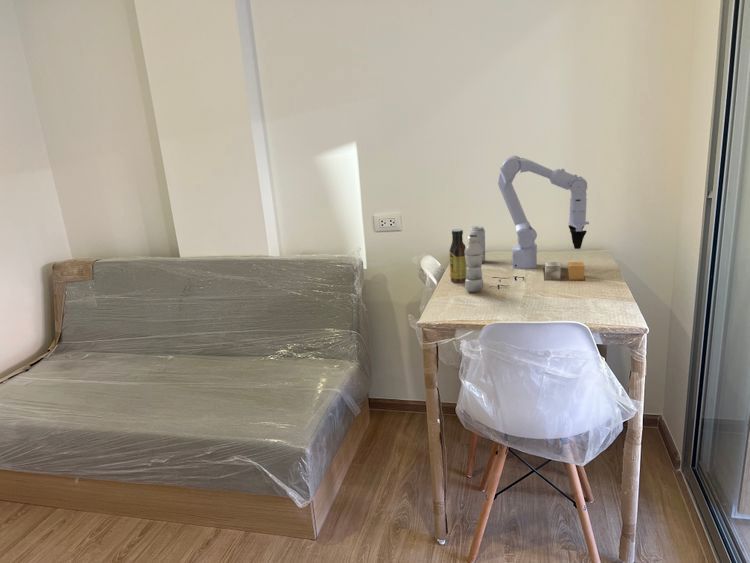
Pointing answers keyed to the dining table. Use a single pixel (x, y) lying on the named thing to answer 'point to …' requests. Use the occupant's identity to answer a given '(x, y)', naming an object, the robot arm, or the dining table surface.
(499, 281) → the dining table surface
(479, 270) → the plastic bottle
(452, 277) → the sauce bottle
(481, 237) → the energy drink can
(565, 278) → the board
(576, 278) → the kraft paper cube
